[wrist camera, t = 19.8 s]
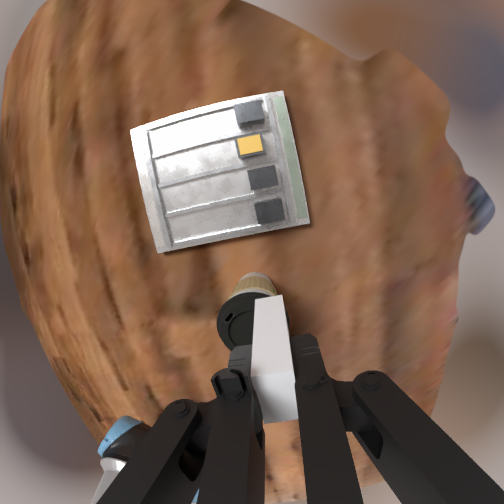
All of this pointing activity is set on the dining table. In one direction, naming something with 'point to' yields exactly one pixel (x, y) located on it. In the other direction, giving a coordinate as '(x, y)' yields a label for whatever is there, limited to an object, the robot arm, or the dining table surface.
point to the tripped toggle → (250, 145)
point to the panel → (219, 173)
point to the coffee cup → (243, 309)
